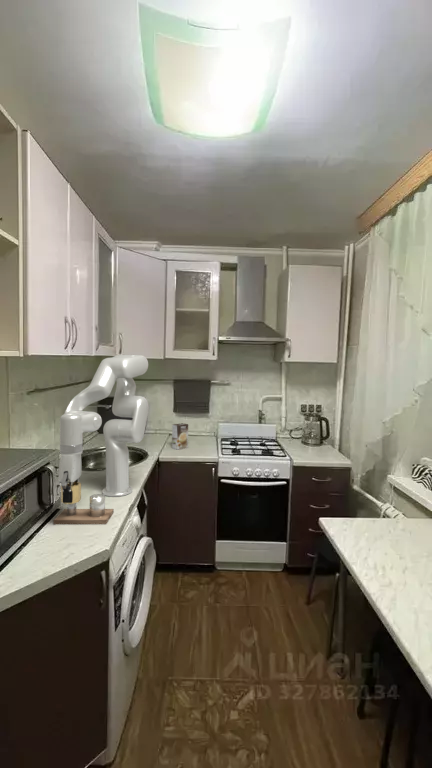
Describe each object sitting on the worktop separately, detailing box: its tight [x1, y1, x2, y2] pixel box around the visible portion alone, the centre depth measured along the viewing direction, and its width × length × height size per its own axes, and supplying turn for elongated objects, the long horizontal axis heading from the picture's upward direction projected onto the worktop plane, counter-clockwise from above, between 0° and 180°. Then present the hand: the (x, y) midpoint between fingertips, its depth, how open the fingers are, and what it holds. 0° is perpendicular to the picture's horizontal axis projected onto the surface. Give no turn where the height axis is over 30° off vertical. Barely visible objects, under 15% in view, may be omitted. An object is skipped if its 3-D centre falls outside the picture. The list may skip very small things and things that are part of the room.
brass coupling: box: [60, 482, 82, 505], centre depth 131 cm, size 6×6×6 cm
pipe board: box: [53, 508, 114, 525], centre depth 132 cm, size 10×18×2 cm, turn 92°
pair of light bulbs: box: [66, 493, 106, 517], centre depth 132 cm, size 5×13×7 cm, turn 91°
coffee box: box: [171, 423, 189, 450], centre depth 248 cm, size 9×6×16 cm
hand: (71, 498), depth 131 cm, fingers closed on brass coupling, 6 cm apart
